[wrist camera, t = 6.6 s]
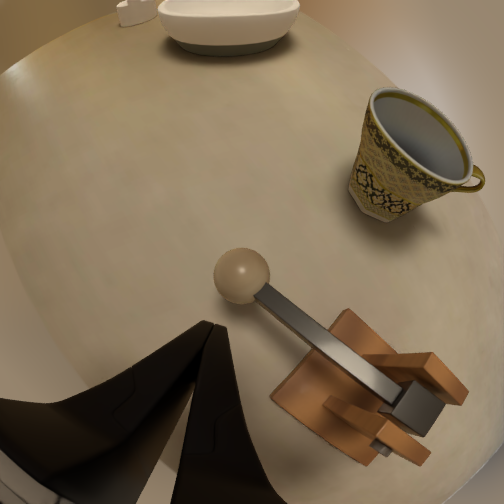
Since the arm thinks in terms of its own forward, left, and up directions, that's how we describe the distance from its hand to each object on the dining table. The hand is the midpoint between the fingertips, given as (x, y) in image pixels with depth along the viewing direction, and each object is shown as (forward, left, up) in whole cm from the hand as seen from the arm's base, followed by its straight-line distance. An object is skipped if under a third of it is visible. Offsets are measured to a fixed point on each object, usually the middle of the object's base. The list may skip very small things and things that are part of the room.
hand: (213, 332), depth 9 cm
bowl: (+32, +33, -12) cm, 48 cm away
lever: (+3, -5, -7) cm, 9 cm away
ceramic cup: (+20, -3, -12) cm, 24 cm away
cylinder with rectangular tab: (+30, +62, -12) cm, 70 cm away
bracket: (+3, -11, -12) cm, 16 cm away
